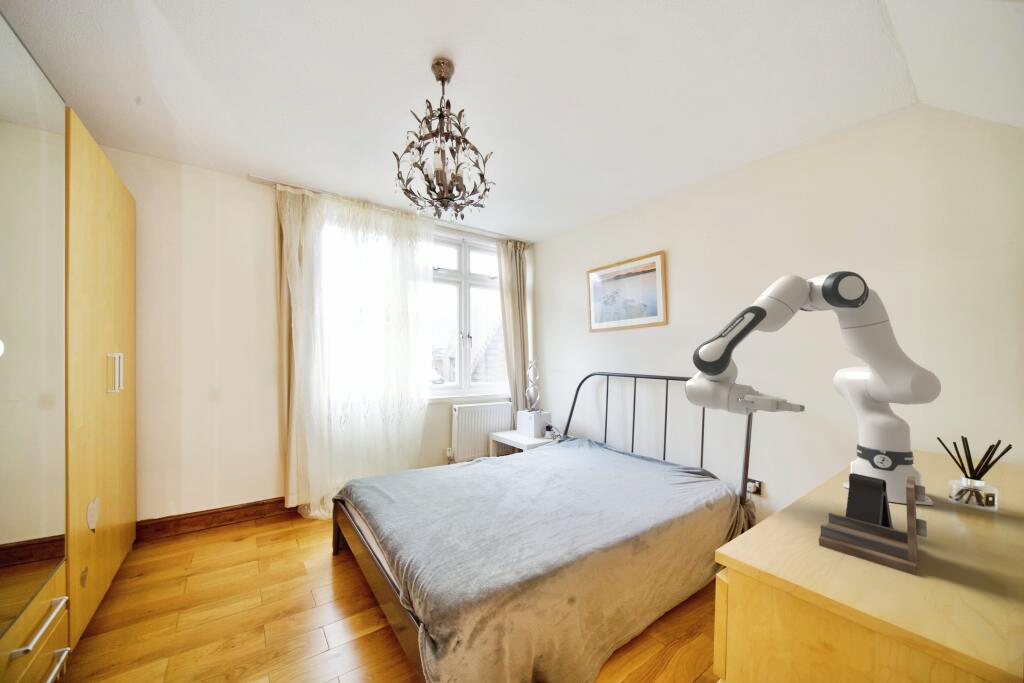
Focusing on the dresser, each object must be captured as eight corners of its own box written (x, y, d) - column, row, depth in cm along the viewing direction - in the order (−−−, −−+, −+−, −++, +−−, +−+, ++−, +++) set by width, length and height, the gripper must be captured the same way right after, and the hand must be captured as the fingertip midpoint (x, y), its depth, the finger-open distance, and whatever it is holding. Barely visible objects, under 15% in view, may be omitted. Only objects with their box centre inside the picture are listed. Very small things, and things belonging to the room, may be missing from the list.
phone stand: (877, 536, 83) (876, 483, 83) (844, 525, 88) (843, 475, 89) (893, 528, 87) (891, 477, 88) (860, 518, 92) (858, 470, 93)
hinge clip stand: (831, 525, 88) (829, 460, 89) (927, 551, 76) (924, 476, 77) (819, 545, 78) (817, 472, 79) (927, 578, 66) (924, 492, 67)
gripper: (735, 388, 100) (798, 396, 91) (752, 390, 115) (807, 397, 105) (733, 410, 100) (795, 421, 90) (750, 409, 115) (805, 419, 105)
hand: (802, 408), depth 98 cm, fingers open, 8 cm apart
